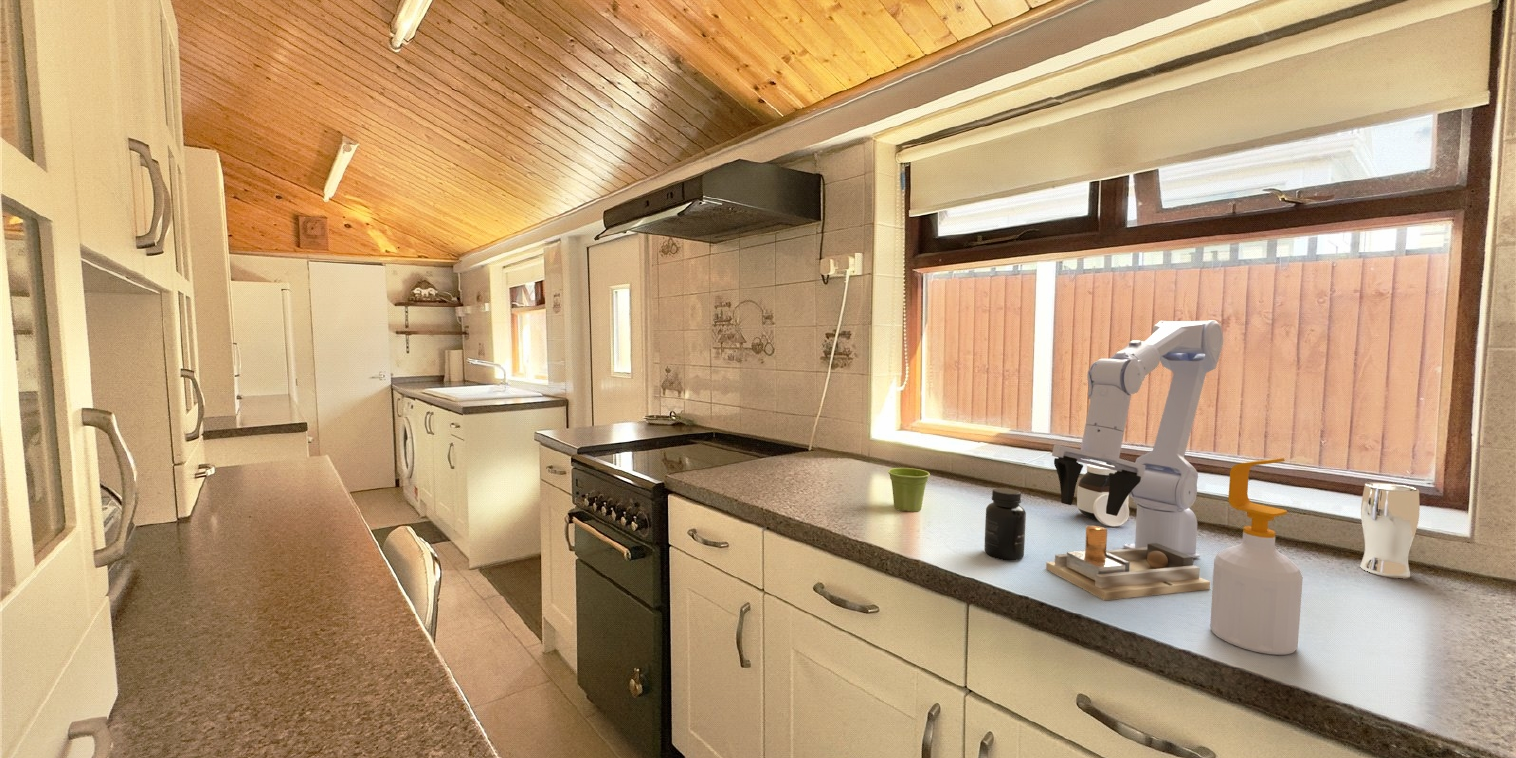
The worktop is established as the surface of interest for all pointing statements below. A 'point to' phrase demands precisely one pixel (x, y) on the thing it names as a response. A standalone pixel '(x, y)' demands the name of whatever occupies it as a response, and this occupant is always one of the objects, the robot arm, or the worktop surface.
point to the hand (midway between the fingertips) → (1088, 509)
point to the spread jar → (1099, 497)
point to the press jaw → (1096, 556)
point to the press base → (1138, 574)
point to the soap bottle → (1255, 580)
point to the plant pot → (908, 488)
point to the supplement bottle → (1005, 526)
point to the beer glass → (1388, 527)
